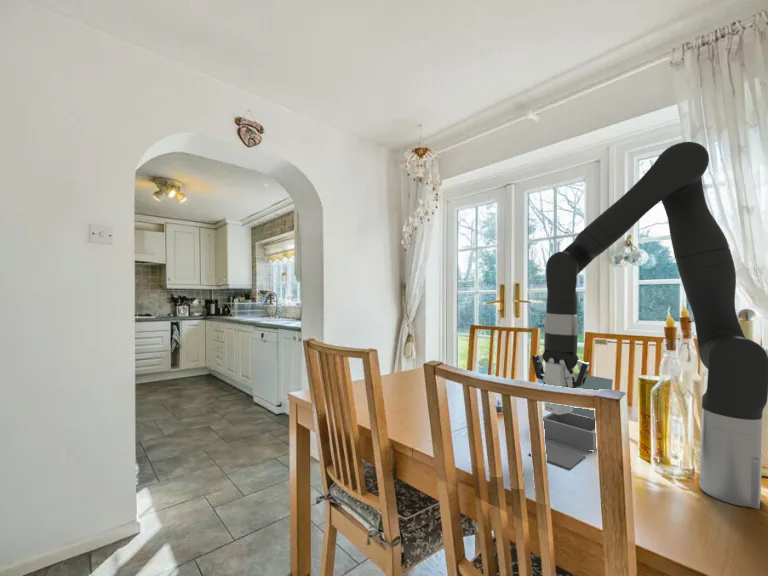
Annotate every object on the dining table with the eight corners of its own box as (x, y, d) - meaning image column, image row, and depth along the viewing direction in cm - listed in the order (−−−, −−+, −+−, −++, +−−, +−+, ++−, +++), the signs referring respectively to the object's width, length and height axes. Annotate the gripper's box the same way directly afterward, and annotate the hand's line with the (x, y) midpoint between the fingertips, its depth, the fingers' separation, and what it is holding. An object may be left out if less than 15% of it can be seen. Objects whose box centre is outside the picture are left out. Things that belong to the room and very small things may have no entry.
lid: (608, 422, 105) (609, 422, 105) (611, 379, 106) (612, 379, 107) (557, 409, 115) (558, 409, 116) (561, 370, 117) (562, 370, 117)
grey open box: (607, 440, 105) (608, 422, 105) (592, 452, 97) (593, 433, 97) (557, 426, 115) (557, 409, 115) (539, 435, 107) (540, 418, 107)
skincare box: (559, 415, 90) (561, 365, 90) (543, 410, 94) (544, 362, 94) (573, 411, 93) (575, 363, 93) (557, 406, 97) (558, 360, 97)
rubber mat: (585, 457, 93) (585, 456, 93) (569, 470, 87) (569, 468, 87) (546, 444, 101) (546, 443, 101) (528, 455, 94) (528, 453, 94)
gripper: (597, 334, 91) (595, 403, 91) (539, 328, 101) (537, 390, 101) (585, 336, 86) (583, 409, 86) (526, 329, 96) (524, 395, 96)
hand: (558, 399), depth 94 cm, fingers closed on skincare box, 4 cm apart
